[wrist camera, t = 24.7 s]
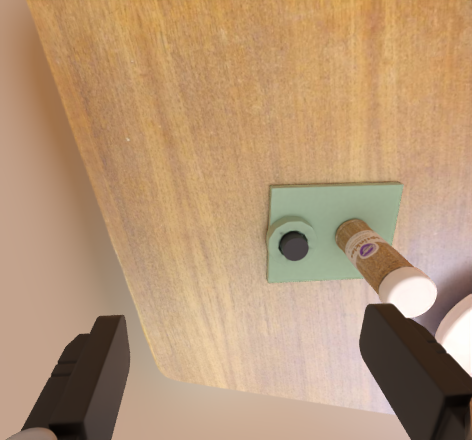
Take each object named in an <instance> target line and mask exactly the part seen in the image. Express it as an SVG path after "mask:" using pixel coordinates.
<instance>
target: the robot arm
mask: <svg viewBox="0 0 472 440" xmlns="http://www.w3.org/2000/svg"><path fill="white" fill-rule="evenodd" d="M359 347H360V352H361V355H362V358H363V360H364V362H365V363H366V365H367V367H368V368H369V370H370V372H371V373H372V375H373V377H374V378H375V380H376V382H377V383H378V385H379V387H380V389H381V390H382V392H383V394H384V395H385V397H386V399H387V400H388V402H389V404H390V405H391V407H392V409H393V410H394V412H395V414H396V415H397V417H398V419H399V420H400V422H401V424H402V425H403V427H404V429H405V430H406V432H407V434H408V435H409V437H410V439H411V440H472V377H471V376H470V375H469V374H468V373H467V372H466V371H465V370H464V369H463V368H462V367H461V366H460V365H459V363H458V362H457V361H456V360H455V359H454V358H453V357H452V356H451V355H450V354H449V353H447V352H446V350H445V349H444V347H443V346H442V345H441V344H440V343H437V340H436V339H435V338H434V337H433V336H432V335H431V334H430V333H429V331H428V330H427V329H426V328H424V327H423V326H421V325H420V324H418V323H417V322H415V321H414V320H412V319H411V318H406V317H405V316H404V315H403V314H402V313H401V312H400V311H399V310H398V308H397V307H396V306H395V305H394V304H392V303H384V304H369V305H367V307H366V310H365V314H364V319H363V324H362V329H361V334H360V340H359ZM129 367H130V350H129V343H128V335H127V327H126V320H125V317H124V315H111V316H99V317H98V318H97V319H96V321H95V323H94V326H93V328H92V330H91V332H90V334H79V335H78V336H77V337H76V338H75V339H74V340H73V341H71V343H69V344H68V345H67V346H66V347H65V349H64V351H63V353H62V355H61V357H60V358H59V360H58V364H57V365H56V366H55V368H54V370H53V372H52V373H51V377H50V378H49V379H48V381H47V383H46V385H45V387H44V389H43V390H42V392H41V394H40V396H39V398H38V400H37V402H36V404H35V405H34V407H33V409H32V411H31V413H30V415H29V417H28V418H27V420H26V422H25V424H24V426H23V428H22V429H21V431H20V432H18V433H16V434H14V435H12V436H11V437H9V438H8V439H6V440H111V438H112V434H113V431H114V427H115V423H116V419H117V415H118V412H119V407H120V404H121V400H122V396H123V392H124V389H125V385H126V381H127V377H128V373H129Z"/></svg>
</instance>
